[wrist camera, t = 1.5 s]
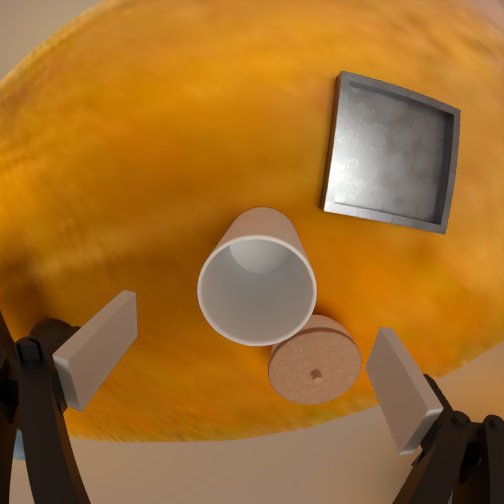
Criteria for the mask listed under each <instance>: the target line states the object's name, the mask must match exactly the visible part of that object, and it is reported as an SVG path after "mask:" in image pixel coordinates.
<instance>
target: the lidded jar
mask: <svg viewBox="0 0 504 504" xmlns="http://www.w3.org/2000/svg"><path fill="white" fill-rule="evenodd" d="M361 363H362V360H361V354H360V352H359V349H358V347H357V345H356V344H355V342H354V341H353V339H352V337H351V336H350V334H349V333H348V331H347V330H346V329H345V328H344V327H343V326H342V325H341V324H340V323H338V322H337V321H335V320H333V319H331V318H329V317H326V316H322V315H311V316H310V318H309V320H308V321H307V322H306V324H305V325H304V326H303V327H302V328H301V329H300V330H299V331H298V332H297V333H296V334H294V335H293V336H291V337H290V338H288V339H286V340H284V341H282V342H279V343H276V344H273V345H272V349H271V353H270V361H269V367H268V375H269V380H270V383H271V385H272V387H273V388H274V390H275V391H276V392H277V393H278V394H279V395H281V396H282V397H283V398H285V399H287V400H289V401H292V402H295V403H299V404H319V403H324V402H327V401H330V400H333V399H335V398H337V397H339V396H340V395H342V394H343V393H345V392H346V391H347V390H348V389H349V388H350V387H351V386H352V385H353V384H354V382H355V381H356V379H357V378H358V375H359V373H360V370H361Z"/></svg>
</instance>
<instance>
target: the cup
mask: <svg viewBox="0 0 504 504" xmlns="http://www.w3.org/2000/svg"><path fill="white" fill-rule="evenodd" d="M197 293H198V301H199V305H200V308H201V310H202V312H203V315H204V316H205V318H206V320H207V321H208V322H209V324H210V325H211V326H212V327H213V328H214V329H215V330H216V331H217V332H219V333H220V334H221V335H223V336H224V337H226V338H228V339H230V340H232V341H234V342H237V343H240V344H244V345H250V346H266V345H272V344H276V343H279V342H282V341H284V340H286V339H288V338H290V337H291V336H293V335H294V334H296V333H297V332H298V331H299V330H300V329H301V328H302V327H303V326H304V325H305V324H306V322H307V321H308V320H309V318H310V316H311V314H312V312H313V309H314V307H315V302H316V296H317V289H316V280H315V276H314V273H313V270H312V268H311V265H310V263H309V261H308V258H307V256H306V253H305V251H304V249H303V247H302V244H301V242H300V240H299V237H298V235H297V233H296V230H295V228H294V226H293V224H292V223H291V221H290V220H289V219H288V218H287V217H286V216H285V215H284V214H282V213H281V212H279V211H277V210H275V209H272V208H267V207H258V208H253V209H250V210H247V211H245V212H244V213H242V214H241V215H239V216H238V217H237V218H236V219H235V221H234V222H233V223H232V225H231V226H230V228H229V229H228V230H227V232H226V233H225V235H224V236H223V237H222V239H221V240H220V242H219V243H218V244H217V246H216V247H215V249H214V250H213V252H212V253H211V254H210V256H209V257H208V259H207V260H206V262H205V264H204V265H203V268H202V270H201V273H200V276H199V280H198V288H197Z"/></svg>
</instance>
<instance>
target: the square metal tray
mask: <svg viewBox="0 0 504 504" xmlns="http://www.w3.org/2000/svg"><path fill="white" fill-rule="evenodd" d="M459 132H460V110H459V109H457V108H454V107H452V106H450V105H447V104H445V103H443V102H440V101H438V100H435V99H433V98H430V97H428V96H425V95H422V94H420V93H417V92H414V91H411V90H408V89H405V88H402V87H399V86H396V85H393V84H390V83H387V82H383V81H380V80H376V79H373V78H369V77H366V76H362V75H358V74H354V73H350V72H346V71H341V72H340V74H339V75H338V76H337V78H336V85H335V95H334V105H333V114H332V122H331V131H330V138H329V146H328V154H327V161H326V168H325V175H324V182H323V188H322V195H321V201H320V207H319V208H320V209H322V210H323V211H327V212H333V213H339V214H344V215H350V216H356V217H361V218H366V219H372V220H377V221H382V222H387V223H392V224H397V225H402V226H407V227H412V228H417V229H421V230H426V231H431V232H435V233H440V234H444V235H445V233H446V228H447V223H448V218H449V213H450V207H451V202H452V195H453V189H454V182H455V175H456V166H457V157H458V146H459Z"/></svg>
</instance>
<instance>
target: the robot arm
mask: <svg viewBox="0 0 504 504" xmlns="http://www.w3.org/2000/svg"><path fill="white" fill-rule="evenodd" d="M137 336H138V333H137V309H136V292H131V291H126V290H123V291H122V292H121V293H120V294H118V295H117V296H116V297H115V298H114V299H113V300H112V301H110V302H109V303H108V304H107V305H106V306H105V307H104V308H103V309H101V310H100V311H99V312H98V313H97V314H96V315H95V316H94V317H92V318H91V319H90V320H89V321H88V322H87V323H86V324H85V325H84V326H83V327H79V326H75V327H73V328H72V327H70V326H69V325H67V324H65V323H64V322H61V321H59V320H56V319H45V320H43V321H41V322H40V323H38V324H37V325H36V326H34V327H33V329H32V330H31V332H30V334H29V336H28V337H24V338H21V339H19V340H18V341H17V342H16V343H14V341H13V339H12V337H11V335H10V332H9V330H8V328H7V326H6V323H5V321H4V318H3V316H2V313H1V311H0V504H9V492H10V479H11V469H12V460H13V458H16V459H18V460H25V461H26V467H27V472H28V477H29V482H30V486H31V491H32V495H33V499H34V502H35V504H91V503H90V501H89V498H88V495H87V493H86V490H85V487H84V485H83V482H82V479H81V476H80V473H79V470H78V467H77V465H76V461H75V458H74V455H73V451H72V448H71V444H70V441H69V437H68V433H67V429H66V425H65V420H64V416H63V413H64V411H65V410H66V409H67V407H68V406H69V407H71V408H74V409H76V410H78V411H81V412H82V411H83V410H84V408H85V407H86V405H87V404H88V403H89V401H90V400H91V398H92V397H93V396H94V394H95V393H96V391H97V390H98V389H99V387H100V386H101V385H102V383H103V382H104V380H105V379H106V378H107V376H108V375H109V374H110V372H111V371H112V370H113V368H114V367H115V366H116V364H117V363H118V362H119V360H120V359H121V358H122V356H123V355H124V354H125V352H126V351H127V350H128V348H129V347H130V346H131V344H132V343H133V342H134V340H135V339H136V338H137ZM365 369H366V372H367V374H368V376H369V379H370V381H371V384H372V386H373V389H374V391H375V394H376V396H377V398H378V401H379V404H380V406H381V409H382V411H383V414H384V416H385V419H386V421H387V424H388V427H389V429H390V432H391V435H392V437H393V440H394V443H395V445H396V448H397V451H398V454H399V455H401V454H409V453H413V452H414V451H415V450H416V449H417V447H418V446H419V445H421V447H422V449H423V450H422V452H421V453H420V455H419V456H418V457H417V458H416V459H415V461H414V462H413V463H412V464H411V465H412V466H413V465H414V466H413V468H412V470H411V472H410V474H409V475H408V477H407V479H406V481H405V483H404V485H403V486H402V488H401V490H400V492H399V493H398V495H397V497H396V498H395V500H394V502H393V503H392V504H447V503H448V501H449V498H450V496H451V493H452V490H453V496H452V504H504V421H503V420H502V418H500V417H499V416H496V415H488V416H486V418H485V419H484V421H483V422H482V423H476V422H471V420H470V418H469V417H468V416H467V415H466V414H464V413H462V412H460V411H453V409H452V407H451V406H450V404H449V403H448V401H447V400H446V398H445V396H444V395H443V394H442V392H441V390H440V389H439V388H438V385H437V384H436V382H435V381H434V380H433V379H432V378H431V377H430V376H428V375H427V374H422V372H421V371H420V369H419V368H418V366H417V365H416V363H415V362H414V360H413V359H412V357H411V356H410V354H409V353H408V351H407V350H406V348H405V347H404V345H403V344H402V342H401V341H400V339H399V338H398V336H397V335H396V333H395V332H394V330H393V329H392V328H384V327H380V328H379V331H378V334H377V337H376V340H375V343H374V346H373V348H372V351H371V354H370V356H369V359H368V362H367V364H366V367H365Z"/></svg>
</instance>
